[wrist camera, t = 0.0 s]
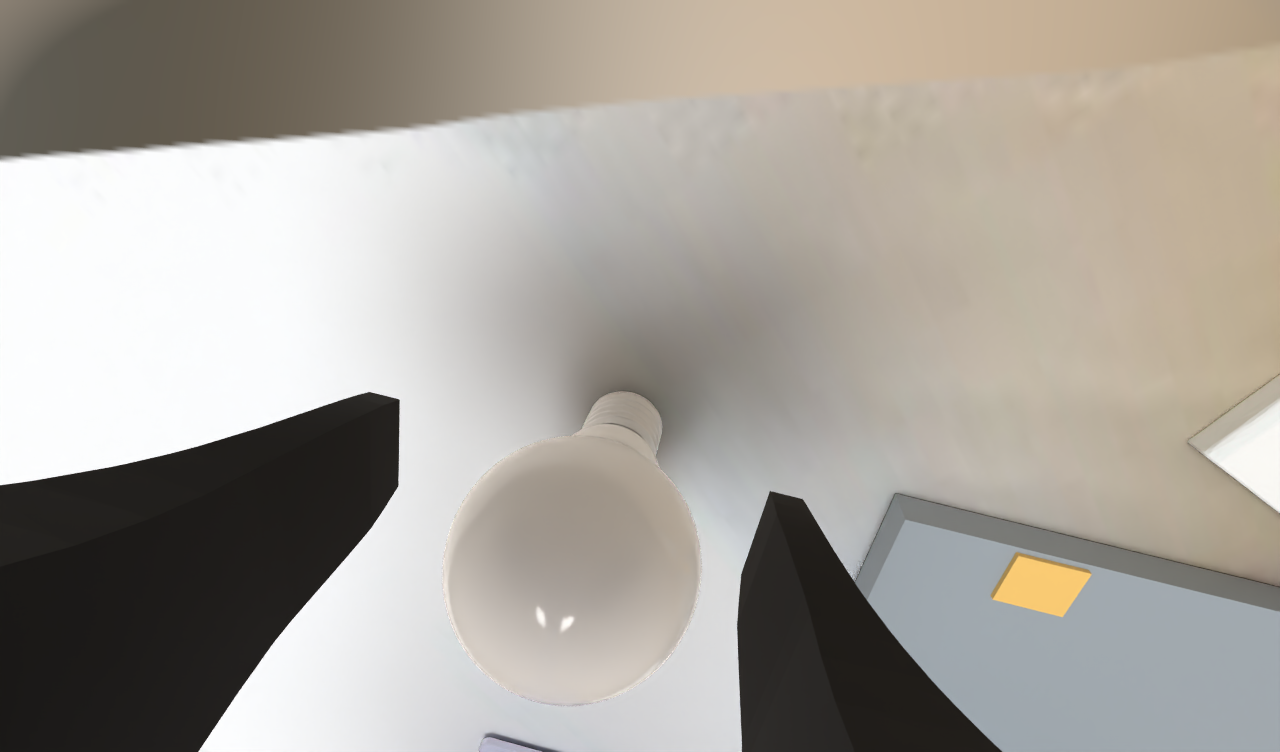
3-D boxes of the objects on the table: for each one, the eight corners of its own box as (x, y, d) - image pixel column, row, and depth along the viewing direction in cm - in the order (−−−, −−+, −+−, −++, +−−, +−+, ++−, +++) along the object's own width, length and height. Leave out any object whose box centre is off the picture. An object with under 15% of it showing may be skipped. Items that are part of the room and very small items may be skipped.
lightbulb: (707, 498, 23) (678, 793, 14) (545, 477, 24) (407, 742, 14) (724, 344, 21) (704, 572, 11) (542, 326, 22) (370, 523, 12)
